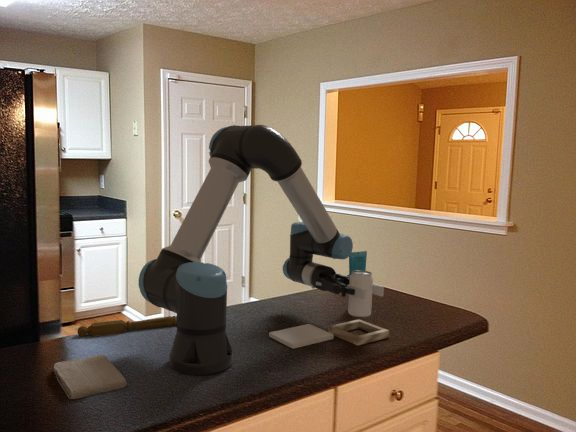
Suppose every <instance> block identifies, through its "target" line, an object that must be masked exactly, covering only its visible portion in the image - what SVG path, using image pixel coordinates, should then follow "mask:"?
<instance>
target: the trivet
mask: <svg viewBox="0 0 576 432" xmlns="http://www.w3.org/2000/svg"><path fill="white" fill-rule="evenodd" d="M268 337H269V338H271V339H273V340H275V341H276V342H279V343H281V344H283V345H285V346H286V347H288V348H291V349H297V348H301V347H305V346H310V345H313V344H318V343H322V342H326V341H330V340H334V338H335V336H334V335H333V334H331V333H329V332H328V331H326V330H323V329H322V328H319V327H317V326H315V325H312V324H310V323H307V324H306V323H305V324H302V325H298V326H292V327H287V328H284V329H279V330H274V331H270V332H269V333H268Z"/></svg>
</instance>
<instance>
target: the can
mask: <svg viewBox="0 0 576 432" xmlns="http://www.w3.org/2000/svg"><path fill="white" fill-rule="evenodd" d="M372 274H373V273H372V272H371V271H368V270H366V271H361V270H356V271H352V274H351V276H350V283H349V285H352V286H356V287H359V288H362V289H366V295H365V299H364V300H363V299H360V298H356V297H353V296H350V295H348V303H347V313H348V314H349V315H350V316H351V317H355V318H368V317H370V316H371V314H372V303H373V301H372V300H373V294H372V289H373V284H374V277H373V275H372Z"/></svg>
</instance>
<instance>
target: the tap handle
mask: <svg viewBox="0 0 576 432" xmlns="http://www.w3.org/2000/svg"><path fill="white" fill-rule="evenodd" d="M175 326H177V316H175V315H173V316H172V315H171V316H170V315H169V316H164V317H155V318H150V319H148V318H147V319H144V320H138V321H137V320H136V321H129V320H127V321H126V322H125V321H124V320H122V319H117V320H110V321H109V320H108V321H100V322H99V321H97V322H92V323H91V324H90V325H89V326H88V327H87V326H85V325H80V326H79V327H78V328H77V336H79V337H81V338H83V337H86V336H87V335H89V336H92V337H101V336H107V335H116V334H117V335H118V334H123V333H126V331H127V332H130V331H131V330H140V329H142V330H143V329H154V328H164V327H165V328H166V327H175Z"/></svg>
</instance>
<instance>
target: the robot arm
mask: <svg viewBox="0 0 576 432" xmlns="http://www.w3.org/2000/svg"><path fill="white" fill-rule="evenodd" d="M208 149H209V152H208V153H209V158H208V164H209V168H210V169H209V171H208V173H207V175H206V176H205V178H204V180H203V183H202V184H201V186H200V188H199V190H198V192H197V193H196V196H195V198H194V200H193V201H192V204H191V206H190V207H189V209H188V211H187V213H186V215H185V217H184V219H183V221H182V223H181V225H180V226H179V229H178V230H177V232H176V234H175V236H174V237H173V239H172V242H171V244H170V245H167V246H165V247H163V248H161V250H160V251H159V253H158V256H157V258H154V259H152V260H149V261H148V262H146V263H145V264H144V265H143V266H142V268H141V270H140V272H139V276H138V288H139V292H140V294H141V297H143V299H144V300H145V301H147V302H149V303H150V304H152V306H154V307H155V306H156V307H157V308H162V309H165V310H167V311H170V312H172V313H174V314H176V317H177V324H176V333H175V337H174V340H173V343H172V346H171V349H170V352H169V356H168V363H169V365H168V366H169V367H170V368H171V370H172V371H175V372H177V373H179V374H184V375H190V376H192V375H193V376H203V375H205V376H206V375H213V374H217V373H221V372H224V371H225V370H227V369H229V368H230V367H232V365H233V364H234V351H233V348H232V347H233V346H232V345H231V342H230V339H229V336H228V332H227V309H228V307H227V306H228V305H227V302H228V298H227V297H228V284H227V273H226V272H225V270H224V269H223V268H221V267H220V266H218V265H216V264H212V263H208V262H205V263H204V262H202V257H203V256H204V253H205V252H206V249H207V247H208V245H209V243H210V242H211V239H212V237H213V236H214V233H215V232H216V229H217V227H218V226H219V223H220V222H221V220H222V218H223V215H224V213H225V211H226V209H227V207H228V206H229V203H230V201H231V199H232V197H233V195H234V193H235V191H236V189H237V187H238V185H239V184H240V183H242V182H245V181H247V180H248V178H249V175H250V173H251V171H252V170H253V169H259V170H261V171H264V172H265V173H266V174H267V175H268V176H269V178H270V179H271V180H272V181H273V182H277V183H278V185H279V187H280V188H281V190H282V192H283V193H284V194H285V196H286V198H287V199H288V201H289V202H290V203H291V205H292V208H293V209H294V210H295V211H296V213H297V215H298V217H299V218H300V220H301V221H299V222H298V221H297V222H292V223H291V226H290V234H289V237H290V238H289V257H288V258H286V259H285V261H284V262H283V264H282V274H283V276H284V277H285V278H287V279H289V280H291V281H293V282H295V283H298V284H302V285H306V286H308V287H311V289H312V290H314V289H317V290H320V291H322V292H330V293H332V294H335V295H340V294H341V297H344V298H345V297H347V296H349V295H350V296H353V297H356V298H360V299H363V300H364V299H365V295H366V289H362V288H359V287H356V286H352V285H349V283H350V276H351V275H349V274H347V275H344V274H343V275H342V274H341V273H337V272H336V271H335V269H334V268H333V267H331V266H328V265H324V264H321V263H318V262H314V261H313V257H314V256H321V257H325V258H330V259H332V260H333V259H334V260H336V259H337V260H347V259H349V256H350V254H351V252H353V247H354V246H353V245H354V244H353V243H354V242H353V240H352V239H353V238H351V237H350V235H346V234H344V233H340V232H339V230H338V228H337V226H336V224H335V223H334V221H333V220H332V218H331V216H330V215H329V213H328V211H327V208H326V207H325V206H324V203H323V202H322V200H321V199H320V197H319V195H318V194H317V192H316V191H315V190H316V189H315V188H314V187H313V185H312V183H311V182H310V180H309V178H308V177H307V175H306V173H305V172H304V170H303V168H302V165H303V161H302V159H301V158H300V155H299V154H298V152H297V151H296V149H295V148H294V147H293V145H292V143H290V142H289V141H288V140H287V138H286V137H285V136H284V135H283V134H281V133H280V132H279V131H278V130H276V129H275V128H273V127H271V126H268V125H264V124H254V125H253V124H252V125H235V124H234V125H230V126H224V127H221V128H219V129H218V130H217V131H216V132H215V133H214V134H213V135H212V136H211V138H210V141H209V143H208ZM384 289H385V287H384V286H382V285H379V284H375V283H373V289H372V295H376V296H378V297H384V292H385V290H384Z"/></svg>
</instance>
